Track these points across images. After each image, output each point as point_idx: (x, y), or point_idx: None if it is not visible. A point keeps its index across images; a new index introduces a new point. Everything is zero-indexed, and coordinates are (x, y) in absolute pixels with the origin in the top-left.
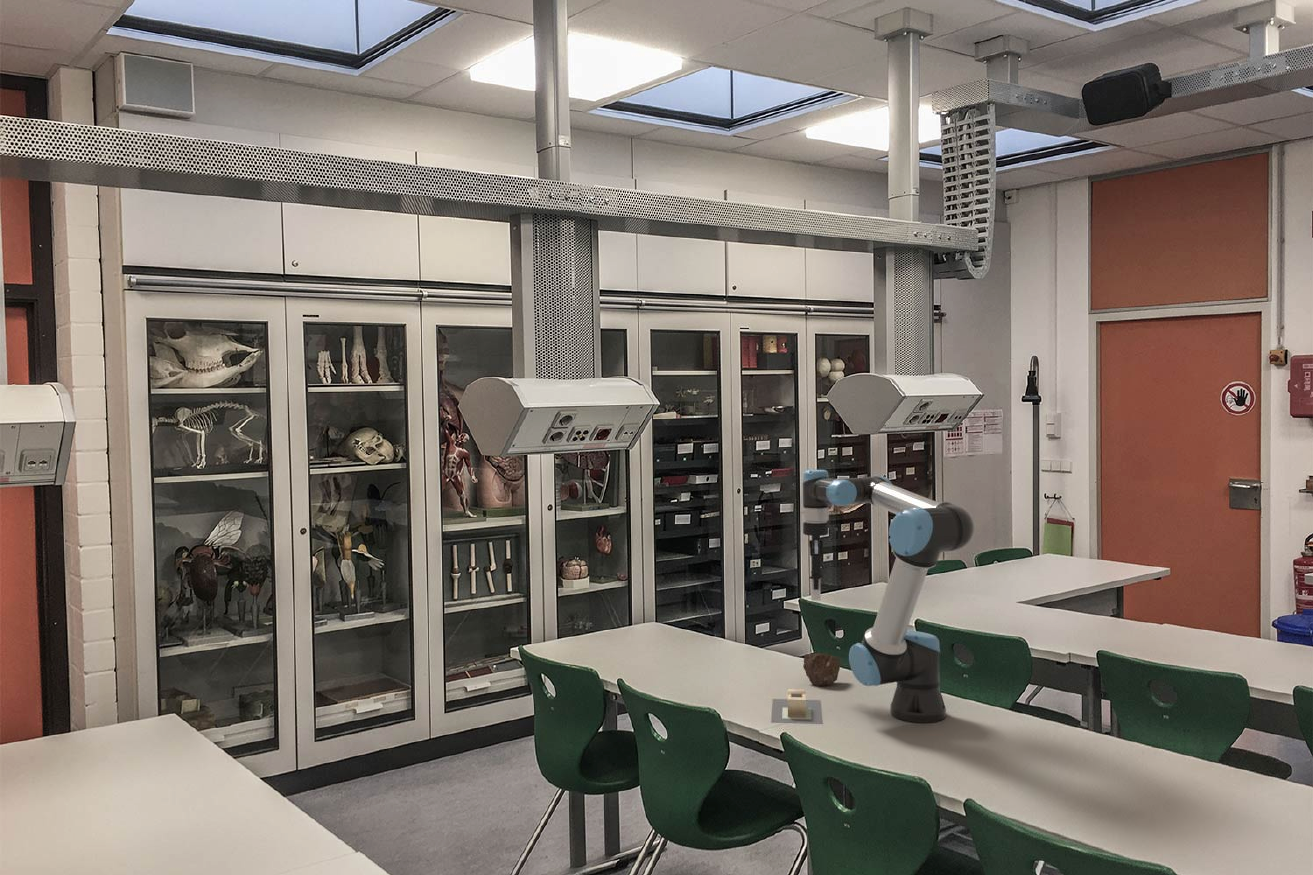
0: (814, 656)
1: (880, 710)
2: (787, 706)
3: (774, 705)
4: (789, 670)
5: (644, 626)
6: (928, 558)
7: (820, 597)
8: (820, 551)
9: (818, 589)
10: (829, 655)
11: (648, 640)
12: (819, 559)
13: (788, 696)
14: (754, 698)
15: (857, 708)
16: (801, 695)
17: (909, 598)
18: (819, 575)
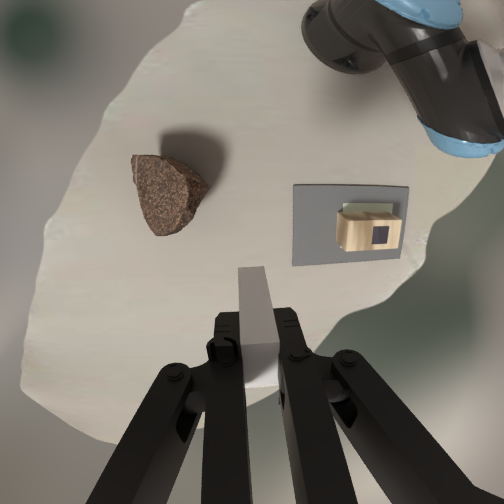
0: (187, 214)
1: (333, 86)
2: (333, 240)
3: (328, 260)
4: (105, 250)
5: (31, 396)
6: None
7: (264, 273)
8: (501, 498)
9: (290, 308)
10: (186, 179)
11: (66, 400)
12: (447, 461)
13: (384, 247)
14: (285, 291)
15: (327, 122)
16: (382, 227)
17: None
18: (365, 365)
